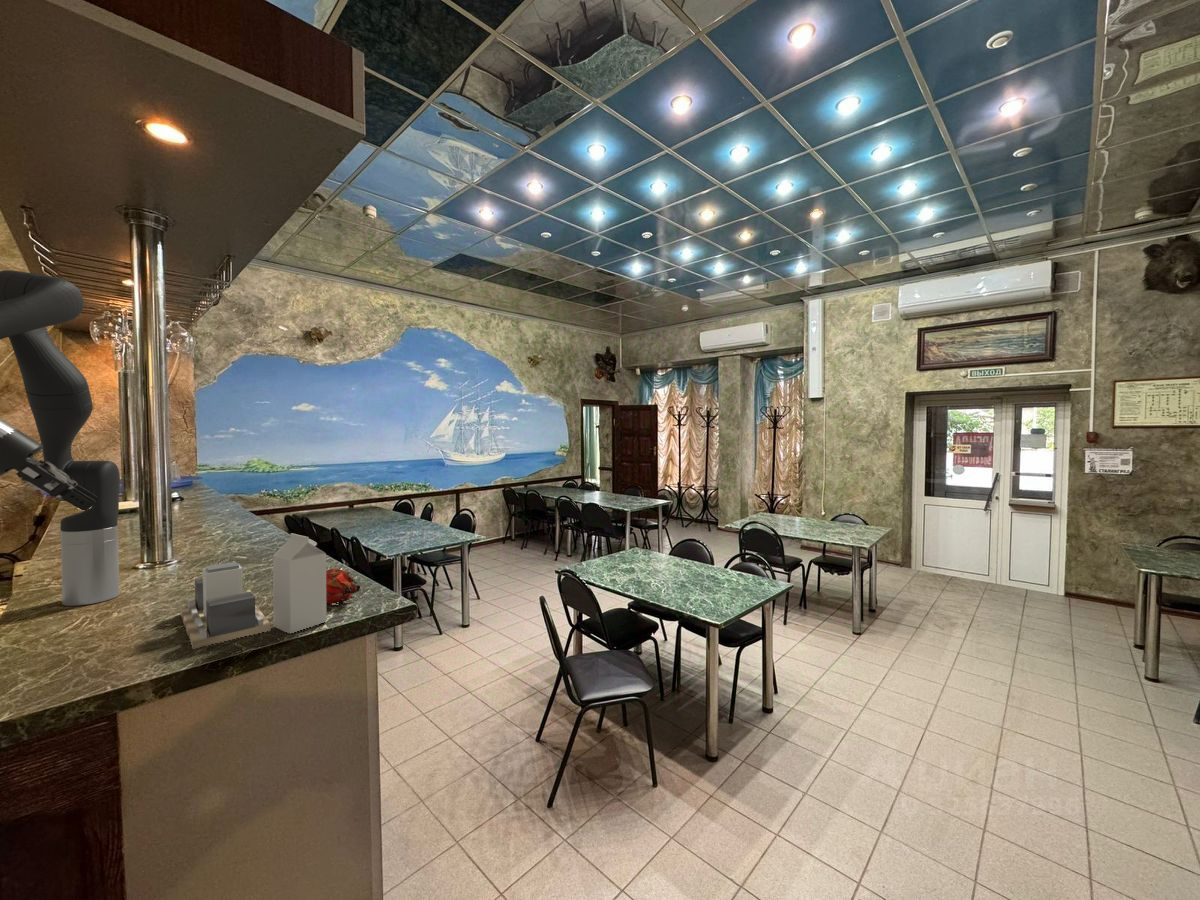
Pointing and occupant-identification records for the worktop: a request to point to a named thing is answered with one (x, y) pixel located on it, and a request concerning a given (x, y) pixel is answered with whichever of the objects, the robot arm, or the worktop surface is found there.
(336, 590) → the dragon fruit
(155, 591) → the worktop surface
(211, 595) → the block
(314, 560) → the milk carton
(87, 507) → the robot arm
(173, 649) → the worktop surface
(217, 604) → the rail plate
